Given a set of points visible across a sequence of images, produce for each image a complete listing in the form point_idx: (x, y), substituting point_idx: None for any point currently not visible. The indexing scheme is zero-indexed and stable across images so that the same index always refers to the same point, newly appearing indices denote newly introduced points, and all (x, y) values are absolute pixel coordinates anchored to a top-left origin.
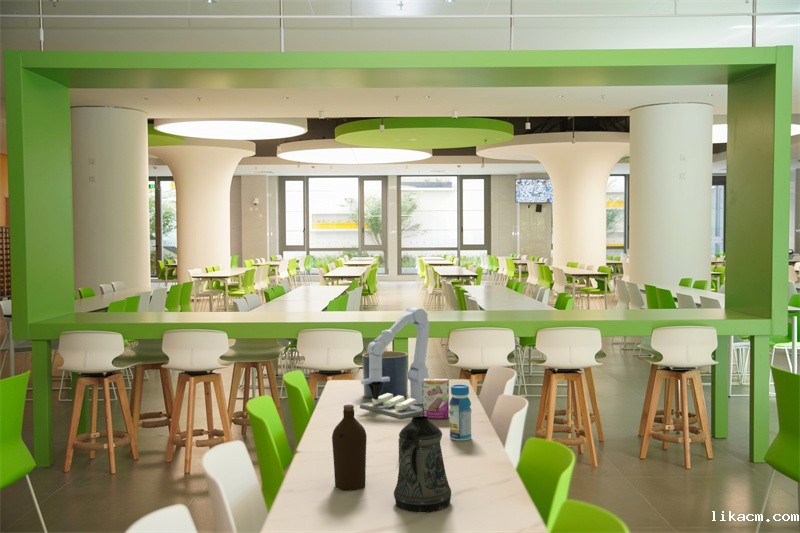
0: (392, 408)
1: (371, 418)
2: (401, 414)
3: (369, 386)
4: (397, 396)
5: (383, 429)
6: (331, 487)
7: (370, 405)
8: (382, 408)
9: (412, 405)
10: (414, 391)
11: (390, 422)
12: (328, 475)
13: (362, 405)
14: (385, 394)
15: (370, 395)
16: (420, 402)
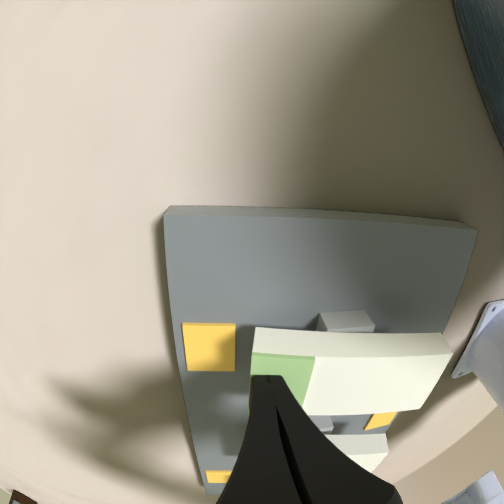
0: None
1: (105, 441)
2: (215, 493)
3: (218, 502)
4: (366, 458)
5: (101, 489)
6: (10, 488)
7: (198, 349)
8: (220, 430)
9: (381, 433)
10: (499, 395)
11: (148, 484)
12: (5, 481)
13: (167, 257)
14: (411, 372)
15: (473, 18)
16: (471, 370)
